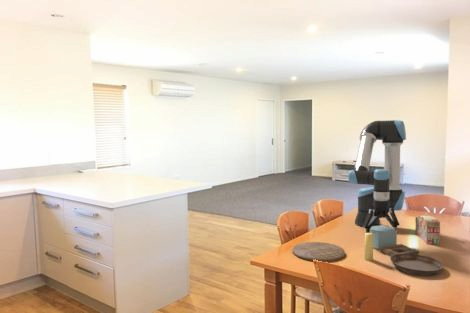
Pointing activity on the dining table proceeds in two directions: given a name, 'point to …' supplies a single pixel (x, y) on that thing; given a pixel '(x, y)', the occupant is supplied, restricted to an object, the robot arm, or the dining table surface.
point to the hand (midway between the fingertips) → (380, 240)
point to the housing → (383, 236)
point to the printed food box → (428, 229)
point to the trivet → (318, 251)
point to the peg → (369, 246)
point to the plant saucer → (416, 264)
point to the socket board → (397, 250)
